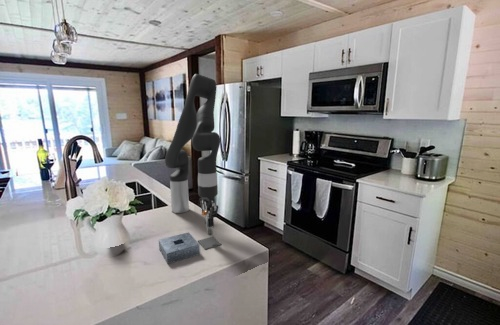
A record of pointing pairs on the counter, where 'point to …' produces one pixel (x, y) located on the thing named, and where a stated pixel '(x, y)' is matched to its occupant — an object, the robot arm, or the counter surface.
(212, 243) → the mat
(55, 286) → the counter surface
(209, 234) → the chuck key
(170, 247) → the block
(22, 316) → the counter surface
